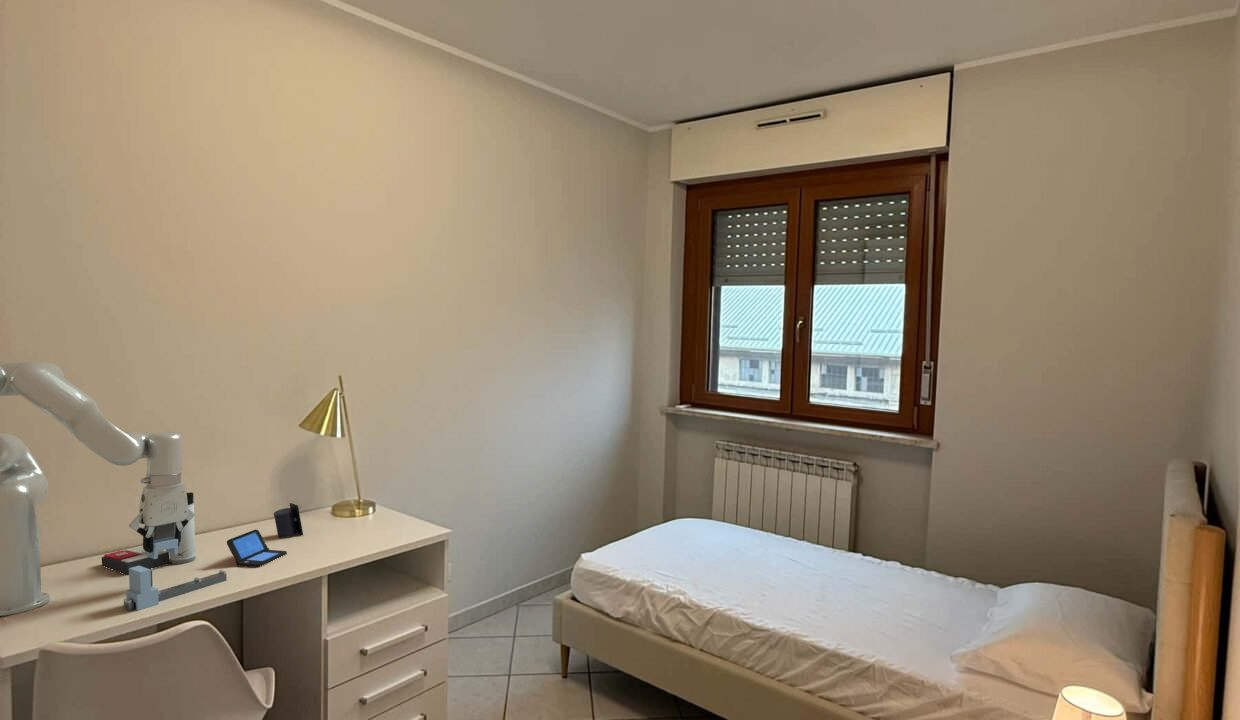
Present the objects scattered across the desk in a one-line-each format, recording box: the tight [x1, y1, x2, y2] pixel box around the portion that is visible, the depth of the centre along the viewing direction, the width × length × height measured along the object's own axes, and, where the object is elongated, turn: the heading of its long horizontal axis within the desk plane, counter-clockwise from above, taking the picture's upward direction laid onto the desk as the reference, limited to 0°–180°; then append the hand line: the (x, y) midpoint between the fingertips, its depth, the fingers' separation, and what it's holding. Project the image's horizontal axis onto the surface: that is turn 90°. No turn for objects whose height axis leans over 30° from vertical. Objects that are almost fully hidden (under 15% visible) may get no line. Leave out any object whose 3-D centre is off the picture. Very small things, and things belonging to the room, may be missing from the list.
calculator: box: [101, 545, 171, 576], centre depth 193 cm, size 11×4×15 cm
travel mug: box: [169, 492, 196, 565], centre depth 196 cm, size 6×7×20 cm
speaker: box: [273, 502, 304, 539], centre depth 220 cm, size 8×6×10 cm
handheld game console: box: [226, 529, 288, 568], centre depth 197 cm, size 12×11×7 cm
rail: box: [123, 569, 228, 612], centre depth 171 cm, size 23×2×3 cm, turn 149°
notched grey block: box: [146, 523, 178, 559], centre depth 176 cm, size 6×4×9 cm
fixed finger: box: [125, 566, 159, 611], centre depth 164 cm, size 6×4×9 cm
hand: (162, 547), depth 176 cm, fingers closed on notched grey block, 5 cm apart
